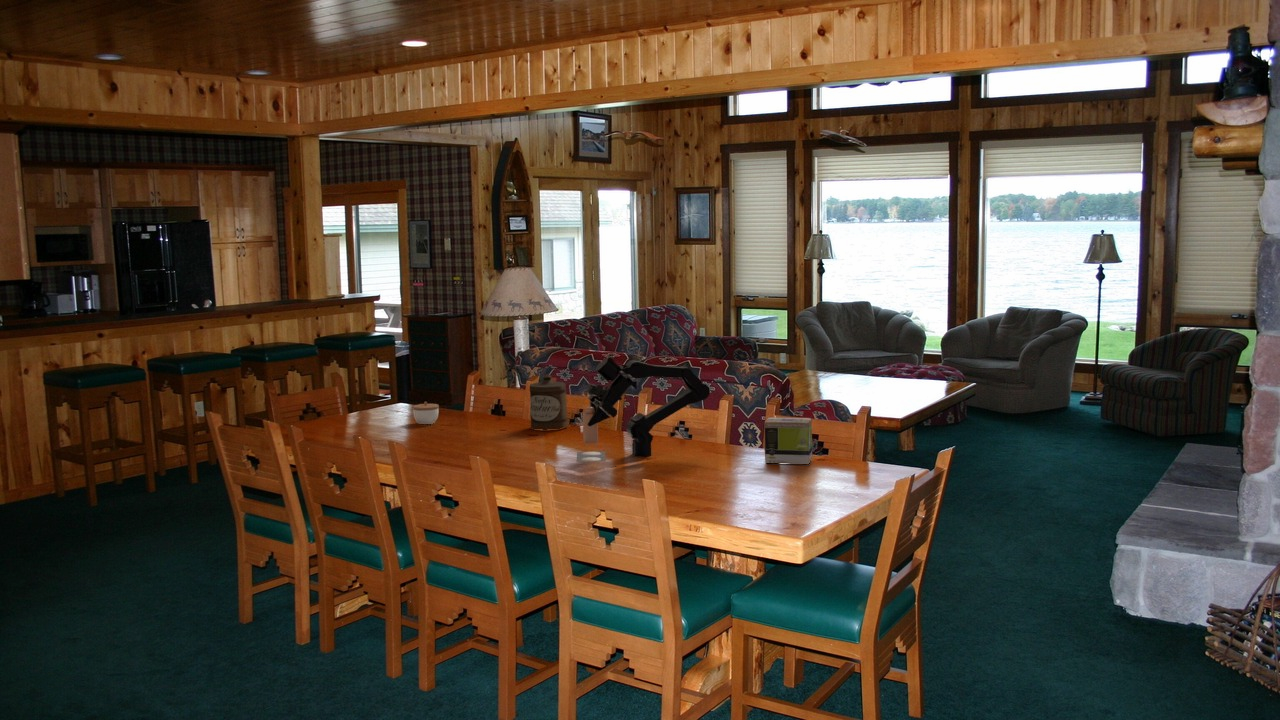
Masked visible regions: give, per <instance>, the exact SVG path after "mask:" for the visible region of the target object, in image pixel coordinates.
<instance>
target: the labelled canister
mask: <svg viewBox="0 0 1280 720" xmlns="http://www.w3.org/2000/svg"><path fill="white" fill-rule="evenodd" d="M542 378H543V381H540V382H533V383H530V384H529V392H530V393H529V396H530V397H529V398H530V401H529V402H530V404H529V405H530V406H529V408H530V415H529V416H530V429H531V428H533V429H543V430H547V429H560V428H563V427H566V426H567V427H568V407H567V405H568V403H567V391H566V388H567V387H566V383H565V382H562V381H553V380H552V378H553V377H552V375H550V374H545V375H543V376H542Z"/></svg>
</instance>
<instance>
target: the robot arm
mask: <svg viewBox="0 0 1280 720" xmlns="http://www.w3.org/2000/svg"><path fill="white" fill-rule="evenodd" d="M594 370H595V372H596V373H597V374H599V375H600V376H601V377H602V378H603V379H604V380H605V381H606V382H609V381H610V382H611V383H610V384H609V386H607V385H606V386H604V385H601V384H599V383H597V384H596V385H595V384H594V383H589V382H588V385H587V388H586V391H585V392H586V393H588V394H590V396H589V397H588V398H587V399H588V400H589V407H594V408H595V413H594V415H593V416H592V418H591V419H590V421H589V422H588V424H587V425H588V426H592V425H594V424H596V423H601V422H602V421H605V420H608V419H610V418H611V417H612V418H613V419H614V418H615V417H617V415H618V410H617V408H616V407H615V405H616V404H617V403H618V402H619V401H620V402H621V401H622V400H623V398H622V397H623V396H624V395H625V393H627V391H629V389H630V388H633V390H637V389H638V386H637V384H638V383H637V382H638V381H637V380H635V379H645V378H649V377H663V378H674V379H675V378H676V379H682V381H683V382H684V384H685V386H686V387H685V388H684V390H683V391H682V392H681V394H679V395H677V396H676V397H674V398H672V399H671V400H668V402H666V403H665V404H663V405H660V406H659V407H658V408H656V409H654V410H653V411H651V412H649V413H648V414H643V413H641V412H639V413H637V414H635V415H634V416H632V417H629V420H628V421H627V422H626V425H625V429H626V433H628V434H629V436H630V437H631V439H632V444H631V446H632V447H631V448H632V451H631V452H632V455H633V456H634V457H638V458H639V457H641V458H647V457H651V456H652V442H653V440H654V439H653V438H654V435H652V434H651V433H650V432H651V430H652V429H653V428H654V426H655V425H657V424H659V423H660V422H662V421H664V420H666V419H667V418H668V417H670V416H672V415H673V414H675V413H677V412H678V411H680V410H682V409H684V408H685V407H687V406H688V405H693V404H697V403H700V402H702V401H704V400H707V399H708V398H709V397H710V392H711V389H710V387H709V386H708V385H707V384H705V383H704V382H702V381H701V379H699V377H698V376H696V374H695V373H694V372H693V370H692V369H691V368H690V367H688V366H672V365H658V364H650V363H646V362H643V361H639V360H635V359H634V360H633V359H632V360H628V362H626V363H624V364H620V365H619V364H617V363H616V361H614V360H613V358H612V357H611V356H607V357H606V358H605V359H604V360H602V361H600V362H599V363H598V365H596V367H595V369H594ZM623 374H625V376H624V375H623ZM629 376H630V377H631V378H630V377H629ZM632 378H634V380H633V379H632Z"/></svg>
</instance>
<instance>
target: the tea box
mask: <svg viewBox="0 0 1280 720" xmlns="http://www.w3.org/2000/svg"><path fill="white" fill-rule="evenodd" d="M812 422H813V421H812V418H811V417H768V418H767V419H766V420H765V421H764V425H763V426H764V458H765V459H764V464H765V463H790V464H809V463H810V464H811V462H810V460H811V457H812V458H813V430H812V429H813V428H812V427H813V426H812V425H813V423H812ZM811 461H812V460H811ZM810 464H809V465H810Z"/></svg>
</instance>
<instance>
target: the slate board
mask: <svg viewBox="0 0 1280 720" xmlns="http://www.w3.org/2000/svg"><path fill="white" fill-rule="evenodd" d="M606 459H607V458H606V451H577V452H576V463H590V462H593V463H595V462H598V463H599V462H607V460H606Z"/></svg>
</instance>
